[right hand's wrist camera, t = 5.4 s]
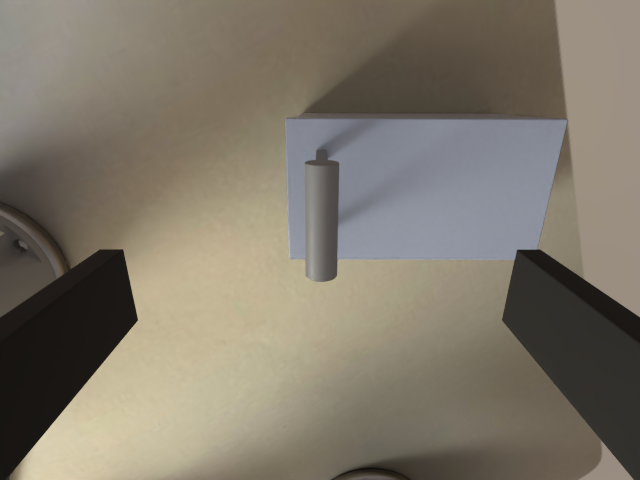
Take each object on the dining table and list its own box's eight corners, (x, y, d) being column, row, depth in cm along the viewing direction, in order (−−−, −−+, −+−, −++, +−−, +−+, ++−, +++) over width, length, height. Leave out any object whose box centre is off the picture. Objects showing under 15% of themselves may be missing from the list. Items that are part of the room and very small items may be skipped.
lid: (290, 252, 28) (279, 310, 20) (286, 117, 25) (271, 125, 17) (526, 253, 28) (604, 311, 20) (556, 118, 25) (665, 126, 17)
